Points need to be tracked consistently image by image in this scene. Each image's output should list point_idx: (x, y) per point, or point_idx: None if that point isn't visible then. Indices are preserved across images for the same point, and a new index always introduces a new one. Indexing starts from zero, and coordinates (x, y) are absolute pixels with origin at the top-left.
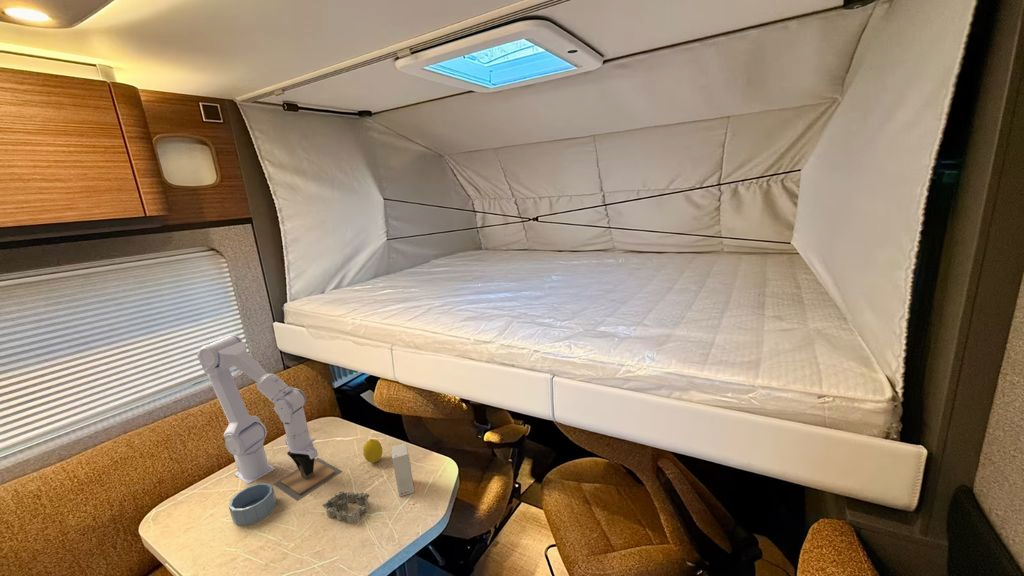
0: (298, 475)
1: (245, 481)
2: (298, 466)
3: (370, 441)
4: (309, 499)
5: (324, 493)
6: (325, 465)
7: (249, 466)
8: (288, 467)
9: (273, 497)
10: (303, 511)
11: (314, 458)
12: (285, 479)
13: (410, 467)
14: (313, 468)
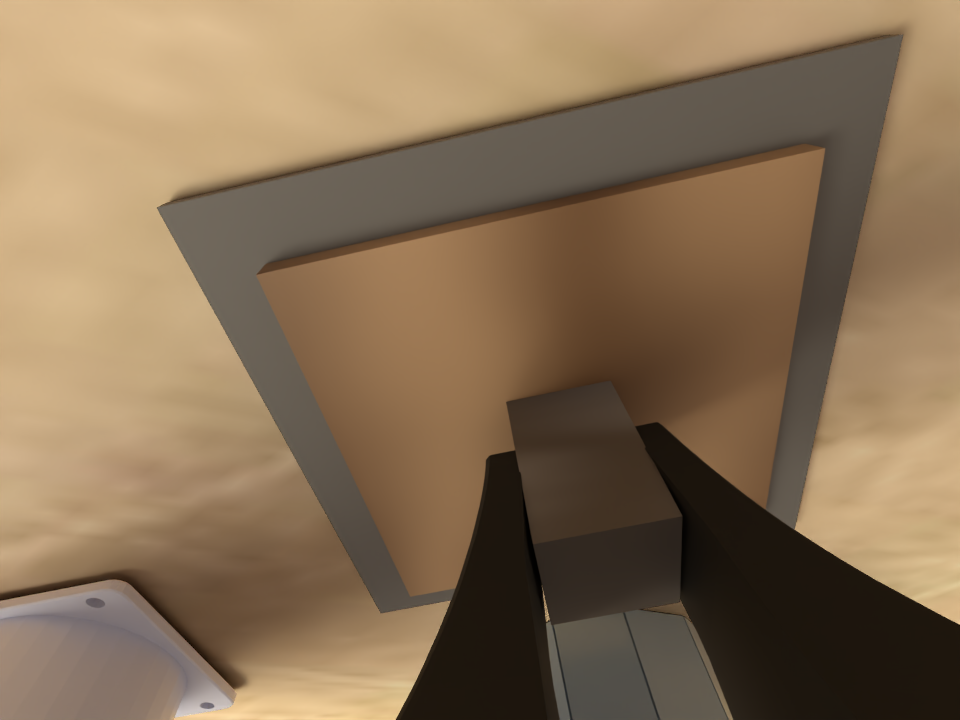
0: (465, 490)
1: (190, 714)
2: (544, 611)
3: None
4: (857, 465)
5: (945, 360)
6: (491, 189)
7: None
8: (155, 493)
9: (710, 703)
10: (926, 518)
11: (878, 583)
12: (425, 569)
13: None
14: (682, 445)
